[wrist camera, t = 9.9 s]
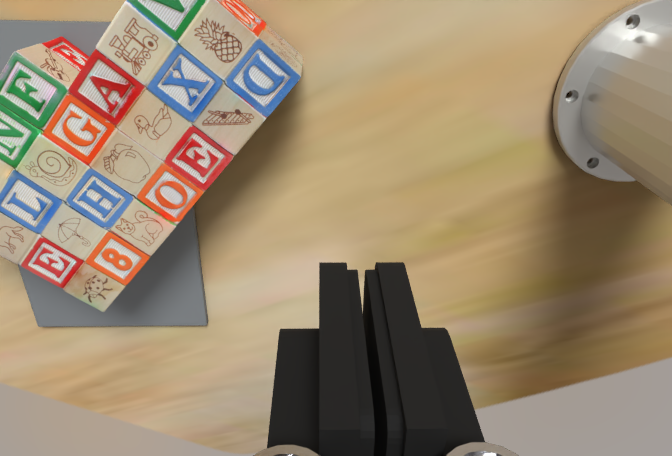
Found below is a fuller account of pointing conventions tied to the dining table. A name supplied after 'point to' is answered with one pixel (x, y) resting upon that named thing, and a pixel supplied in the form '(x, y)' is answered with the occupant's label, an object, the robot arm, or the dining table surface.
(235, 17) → the stack of blocks
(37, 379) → the dining table surface
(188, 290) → the mat
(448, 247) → the dining table surface
